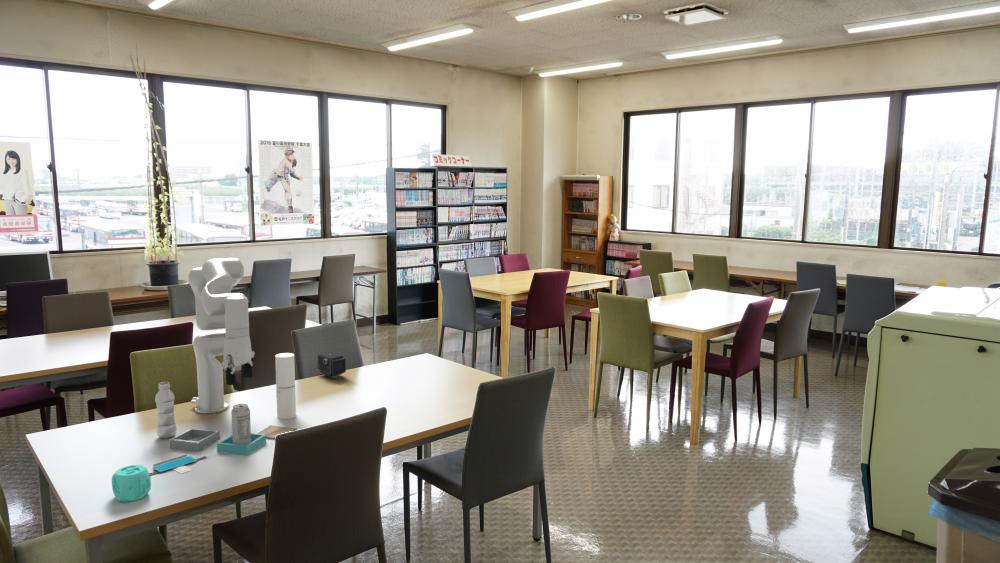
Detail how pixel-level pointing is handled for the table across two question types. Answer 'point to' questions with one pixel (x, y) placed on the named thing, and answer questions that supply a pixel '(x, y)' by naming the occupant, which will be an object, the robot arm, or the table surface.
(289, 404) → the cylindrical container
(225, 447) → the teal flat square frame
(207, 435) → the grey crate
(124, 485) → the decorative dice
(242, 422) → the energy drink can
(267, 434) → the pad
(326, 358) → the camera
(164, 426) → the plastic bottle
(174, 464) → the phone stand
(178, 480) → the table surface
